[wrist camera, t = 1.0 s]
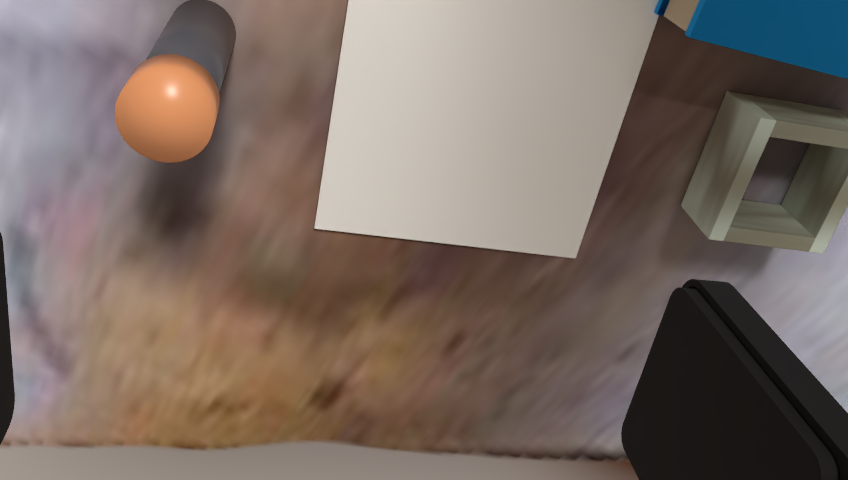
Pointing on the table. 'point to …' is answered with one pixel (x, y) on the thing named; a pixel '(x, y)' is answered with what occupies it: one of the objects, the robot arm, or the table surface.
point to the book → (770, 29)
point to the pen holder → (735, 164)
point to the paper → (479, 118)
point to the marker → (178, 85)
